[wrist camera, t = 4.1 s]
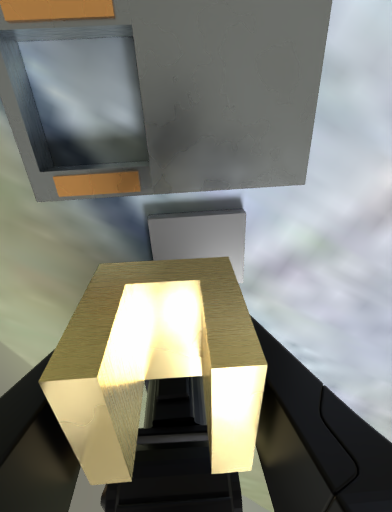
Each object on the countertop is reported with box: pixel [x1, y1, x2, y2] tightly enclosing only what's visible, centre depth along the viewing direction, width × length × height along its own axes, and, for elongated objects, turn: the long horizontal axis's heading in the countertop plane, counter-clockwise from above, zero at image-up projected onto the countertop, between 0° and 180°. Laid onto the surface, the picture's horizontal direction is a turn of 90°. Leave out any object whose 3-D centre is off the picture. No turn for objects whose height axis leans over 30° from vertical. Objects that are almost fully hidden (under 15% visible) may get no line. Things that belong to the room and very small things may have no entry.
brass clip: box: [38, 256, 267, 485], centre depth 7 cm, size 4×4×4 cm
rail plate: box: [0, 0, 332, 202], centre depth 15 cm, size 10×17×2 cm, turn 93°
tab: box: [148, 209, 246, 283], centre depth 20 cm, size 6×7×1 cm
